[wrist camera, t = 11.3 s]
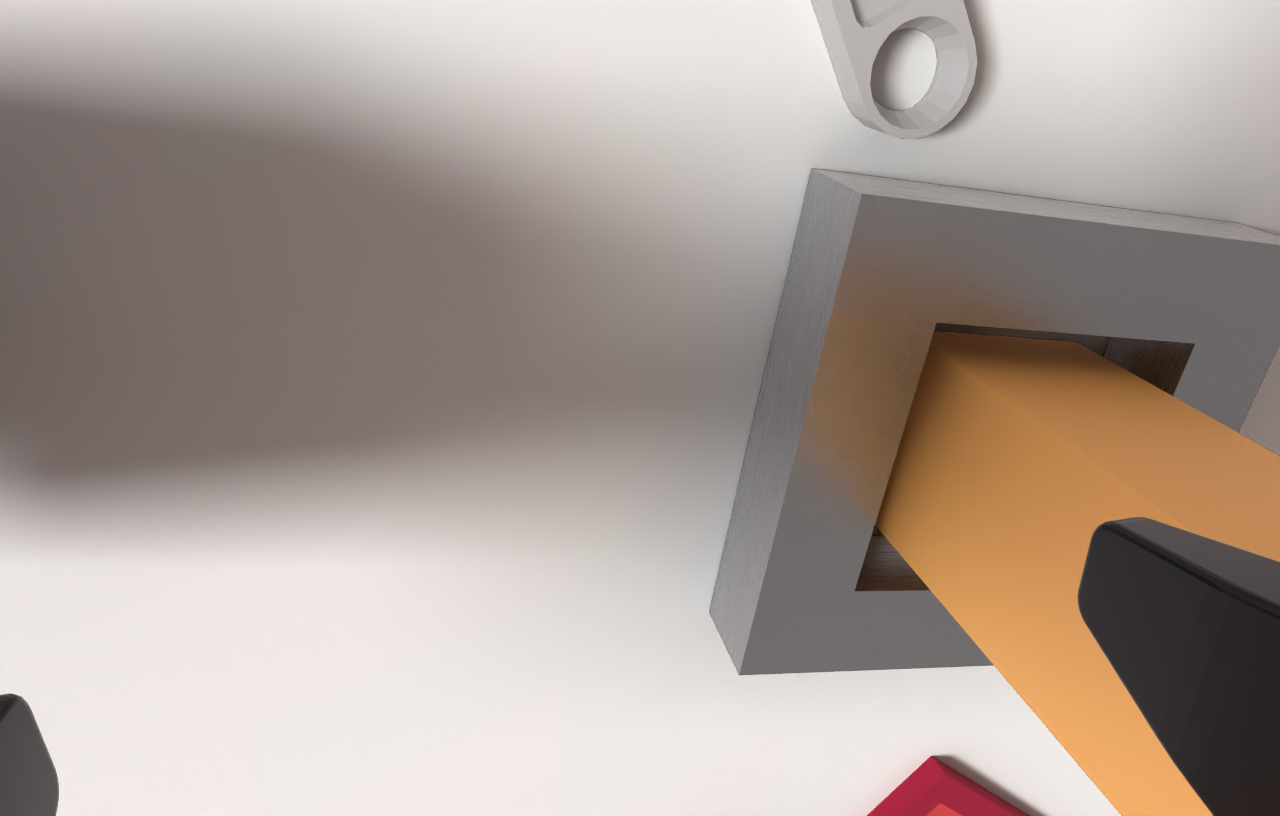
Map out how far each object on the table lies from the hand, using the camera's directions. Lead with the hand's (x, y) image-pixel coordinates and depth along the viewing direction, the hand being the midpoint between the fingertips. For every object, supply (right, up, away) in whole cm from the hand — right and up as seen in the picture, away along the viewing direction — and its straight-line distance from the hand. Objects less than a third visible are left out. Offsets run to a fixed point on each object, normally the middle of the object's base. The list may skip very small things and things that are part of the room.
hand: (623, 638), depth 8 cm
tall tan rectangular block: (+9, +2, +16) cm, 19 cm away
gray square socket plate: (+9, +2, +16) cm, 19 cm away
